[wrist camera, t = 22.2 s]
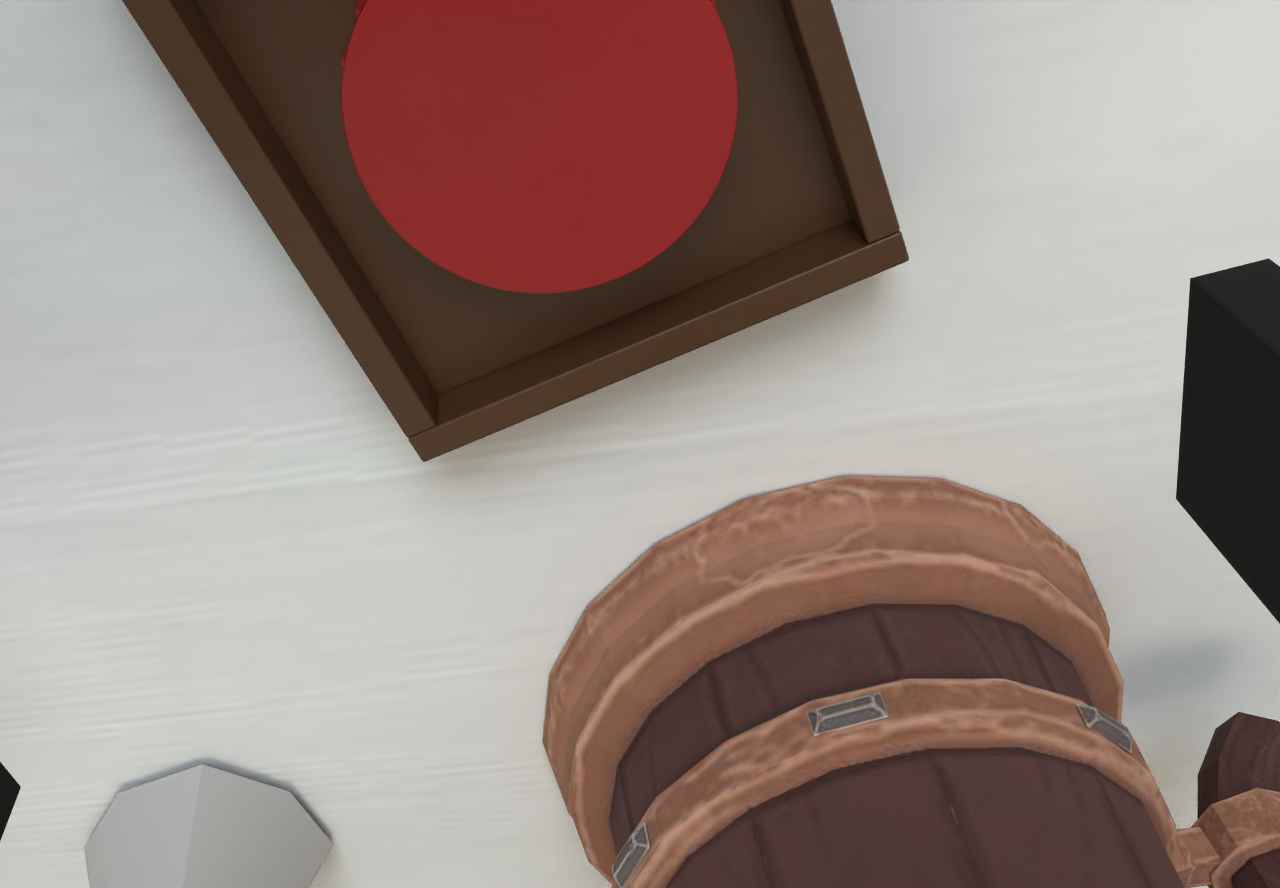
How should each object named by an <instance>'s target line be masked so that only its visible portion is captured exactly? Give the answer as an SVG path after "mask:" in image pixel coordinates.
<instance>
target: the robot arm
mask: <svg viewBox="0 0 1280 888" xmlns="http://www.w3.org/2000/svg"><path fill="white" fill-rule="evenodd" d="M1176 499H1177V501H1178V502H1179V503H1180V504H1181V505H1182V507H1183V508H1184V509H1185V510H1186V511H1187V513H1188V514H1189V515H1190V516H1191V517H1192V519H1193V520H1194V521H1195V522H1196V523H1197V525H1198V526H1199V527H1200V528H1201V529H1202V531H1203V532H1204V533H1205V534H1206V535H1207V537H1208V538H1209V539H1210V540H1211V541H1212V543H1213V544H1214V545H1215V546H1216V547H1217V549H1218V550H1219V551H1220V552H1221V553H1222V555H1223V556H1224V557H1225V558H1226V559H1227V561H1228V562H1229V563H1230V564H1231V565H1232V567H1233V568H1234V569H1235V570H1236V571H1237V573H1238V574H1239V575H1240V576H1241V577H1242V579H1243V580H1244V581H1245V582H1246V583H1247V585H1248V586H1249V587H1250V588H1251V589H1252V591H1253V592H1254V593H1255V594H1256V596H1257V597H1258V598H1259V599H1260V600H1261V602H1262V603H1263V604H1264V605H1265V606H1266V608H1267V609H1268V610H1269V611H1270V612H1271V614H1272V615H1273V616H1274V617H1275V618H1276V620H1277V621H1278V622H1279V623H1280V267H1279V266H1278V265H1277V264H1275V263H1274V262H1273V261H1271V260H1270V259H1265V260H1261V261H1257V262H1253V263H1249V264H1245V265H1242V266H1238V267H1234V268H1230V269H1226V270H1222V271H1218V272H1214V273H1210V274H1206V275H1202V276H1198V277H1194V278H1190V294H1189V309H1188V324H1187V339H1186V355H1185V370H1184V385H1183V401H1182V416H1181V431H1180V446H1179V462H1178V477H1177V492H1176ZM20 788H21V787H20V785H19V784H18V783H17V782H16V781H15V779H14V778H13V777H12V776H11V774H10V773H9V772H8V771H7V770H6V768H5V767H4V766H3V765H2V763H1V762H0V840H1V838H2V835H3V833H4V830H5V827H6V825H7V822H8V819H9V817H10V814H11V811H12V809H13V806H14V804H15V801H16V798H17V796H18V793H19V790H20Z"/></svg>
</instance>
